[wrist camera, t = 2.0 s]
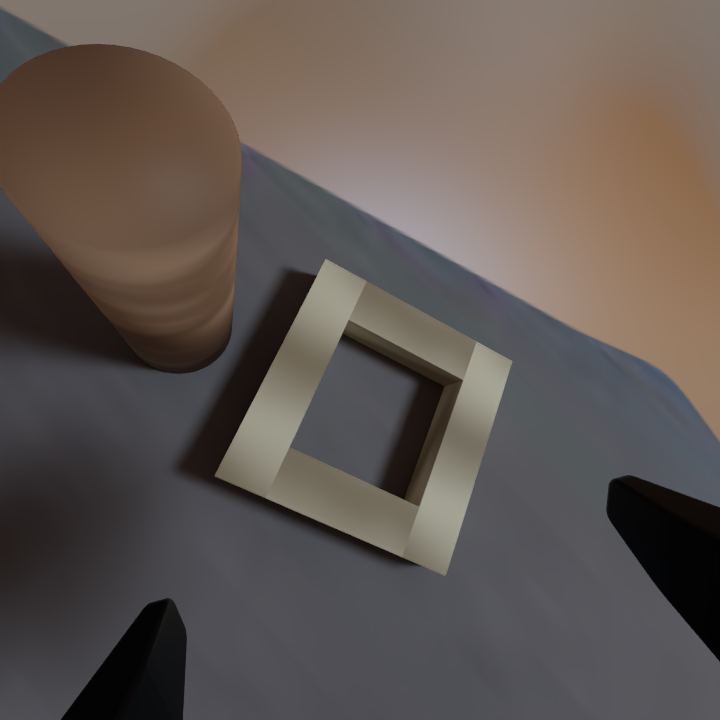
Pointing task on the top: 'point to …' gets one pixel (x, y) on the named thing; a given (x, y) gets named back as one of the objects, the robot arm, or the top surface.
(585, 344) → the top surface
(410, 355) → the birch hole board
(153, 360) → the cherry wood peg
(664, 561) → the robot arm
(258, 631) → the top surface
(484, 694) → the top surface
